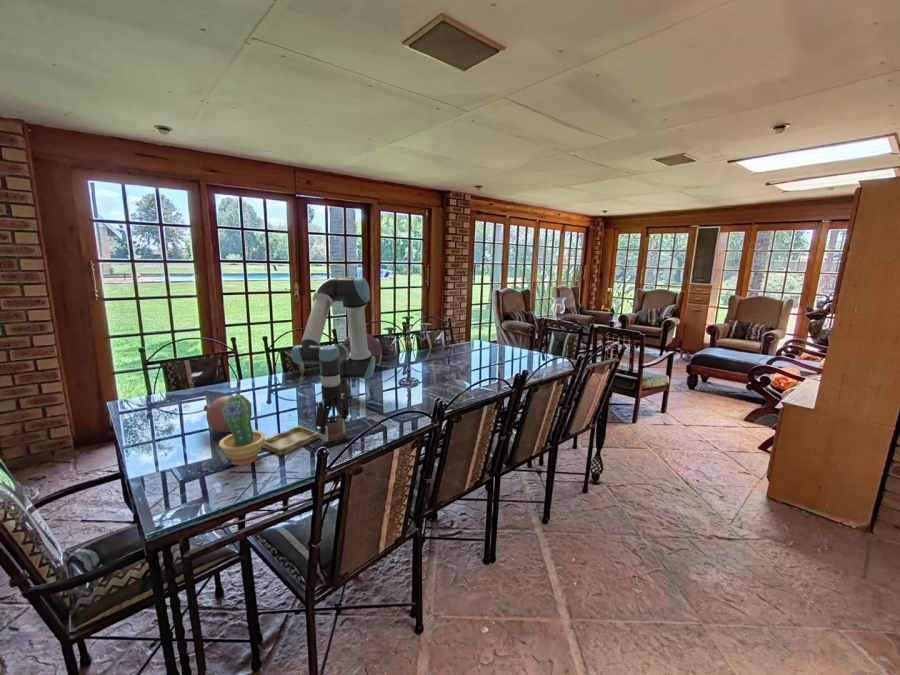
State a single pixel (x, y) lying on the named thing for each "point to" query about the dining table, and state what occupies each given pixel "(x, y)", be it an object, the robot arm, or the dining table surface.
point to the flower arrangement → (371, 342)
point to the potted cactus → (240, 432)
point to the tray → (289, 440)
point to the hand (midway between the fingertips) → (333, 436)
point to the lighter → (335, 428)
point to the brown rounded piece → (217, 415)
